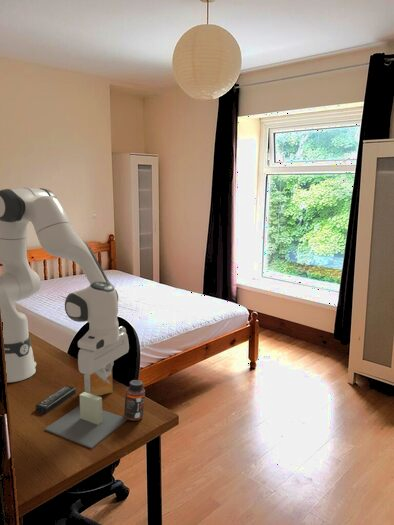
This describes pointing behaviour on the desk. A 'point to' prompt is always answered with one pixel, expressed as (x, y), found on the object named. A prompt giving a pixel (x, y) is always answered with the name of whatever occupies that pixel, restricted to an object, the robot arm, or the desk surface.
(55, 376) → the desk surface
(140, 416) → the supplement bottle
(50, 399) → the multiport hub
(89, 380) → the small box
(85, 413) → the tile
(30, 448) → the desk surface
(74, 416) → the mat
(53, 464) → the desk surface
